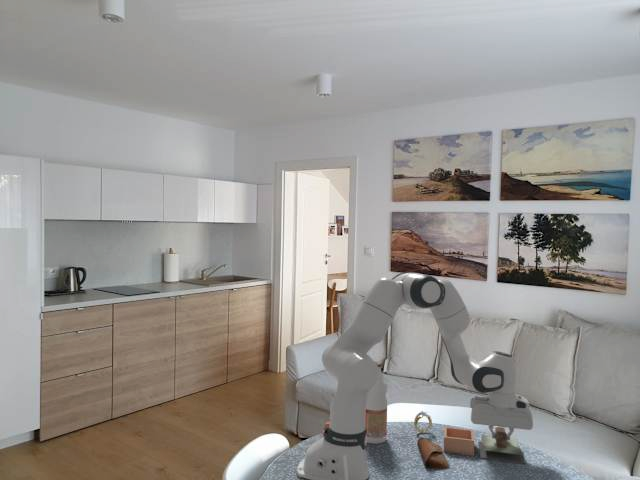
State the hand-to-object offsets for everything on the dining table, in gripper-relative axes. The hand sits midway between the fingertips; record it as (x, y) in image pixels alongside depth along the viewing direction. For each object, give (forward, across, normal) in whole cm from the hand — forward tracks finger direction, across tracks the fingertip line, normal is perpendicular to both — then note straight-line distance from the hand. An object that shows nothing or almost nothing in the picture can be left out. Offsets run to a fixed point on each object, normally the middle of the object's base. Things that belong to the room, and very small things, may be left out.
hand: (500, 438), depth 172 cm
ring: (+5, -27, +10) cm, 29 cm away
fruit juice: (+5, -44, -2) cm, 44 cm away
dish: (+5, -14, 0) cm, 15 cm away
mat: (+5, 0, 0) cm, 5 cm away
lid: (+2, 0, 0) cm, 2 cm away
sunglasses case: (+6, -22, -10) cm, 25 cm away
